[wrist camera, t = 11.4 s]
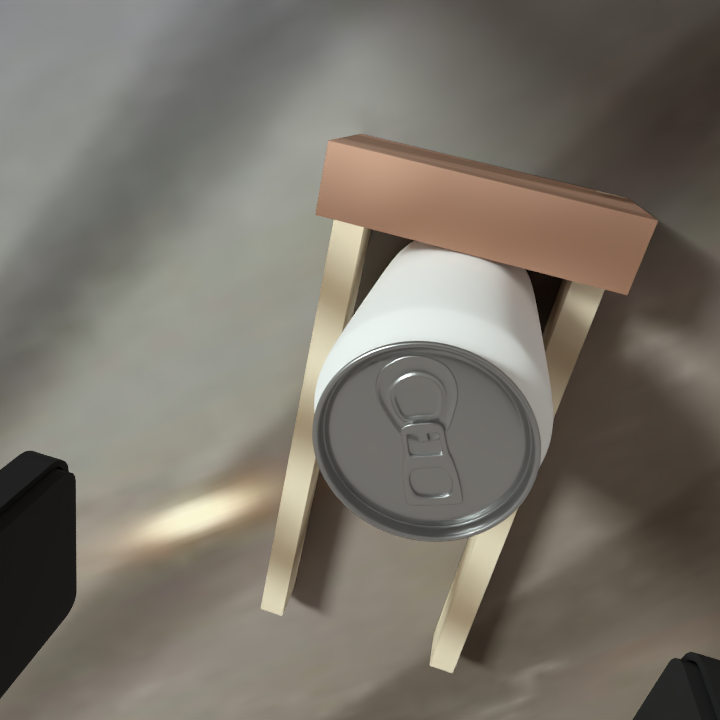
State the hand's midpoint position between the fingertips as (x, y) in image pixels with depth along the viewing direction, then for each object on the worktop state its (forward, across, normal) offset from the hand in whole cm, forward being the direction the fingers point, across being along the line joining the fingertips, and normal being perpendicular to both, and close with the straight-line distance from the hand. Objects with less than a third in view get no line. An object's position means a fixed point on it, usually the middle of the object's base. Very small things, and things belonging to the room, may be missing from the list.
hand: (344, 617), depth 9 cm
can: (+18, -1, +1) cm, 18 cm away
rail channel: (+18, -1, +7) cm, 19 cm away
